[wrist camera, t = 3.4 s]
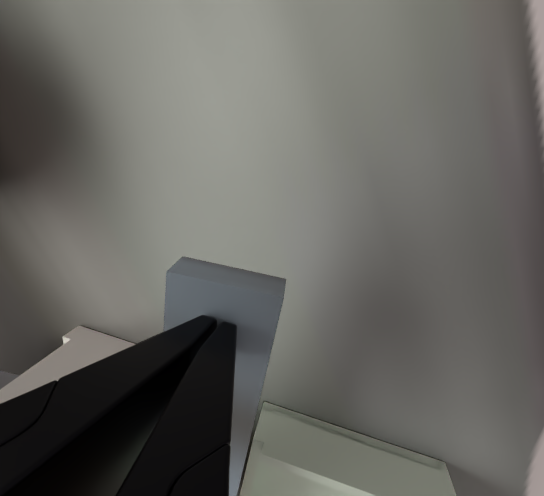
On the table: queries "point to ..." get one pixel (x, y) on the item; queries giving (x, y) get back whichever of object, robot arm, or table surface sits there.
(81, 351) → the stand
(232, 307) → the lever
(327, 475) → the tray
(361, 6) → the table surface
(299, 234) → the table surface
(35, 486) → the robot arm
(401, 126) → the table surface
